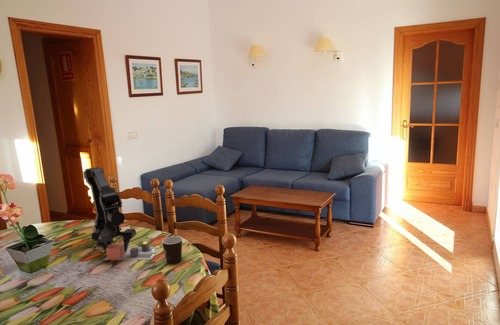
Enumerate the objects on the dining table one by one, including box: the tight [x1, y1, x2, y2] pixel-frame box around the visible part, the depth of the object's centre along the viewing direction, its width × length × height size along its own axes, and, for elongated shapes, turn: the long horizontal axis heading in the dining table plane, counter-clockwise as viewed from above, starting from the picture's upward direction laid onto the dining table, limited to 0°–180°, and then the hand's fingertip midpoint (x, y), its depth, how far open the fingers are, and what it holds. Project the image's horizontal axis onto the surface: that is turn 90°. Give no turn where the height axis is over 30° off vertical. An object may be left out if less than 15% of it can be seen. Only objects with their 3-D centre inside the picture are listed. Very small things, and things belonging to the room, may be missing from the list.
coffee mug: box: [161, 235, 183, 266], centre depth 168 cm, size 12×9×10 cm
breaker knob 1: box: [130, 246, 139, 257], centre depth 171 cm, size 2×3×3 cm
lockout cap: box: [105, 242, 126, 259], centre depth 172 cm, size 6×6×5 cm
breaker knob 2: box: [140, 241, 150, 251], centre depth 177 cm, size 2×3×3 cm
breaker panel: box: [103, 245, 161, 261], centre depth 175 cm, size 22×13×2 cm, turn 85°
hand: (116, 251), depth 172 cm, fingers open, 9 cm apart
